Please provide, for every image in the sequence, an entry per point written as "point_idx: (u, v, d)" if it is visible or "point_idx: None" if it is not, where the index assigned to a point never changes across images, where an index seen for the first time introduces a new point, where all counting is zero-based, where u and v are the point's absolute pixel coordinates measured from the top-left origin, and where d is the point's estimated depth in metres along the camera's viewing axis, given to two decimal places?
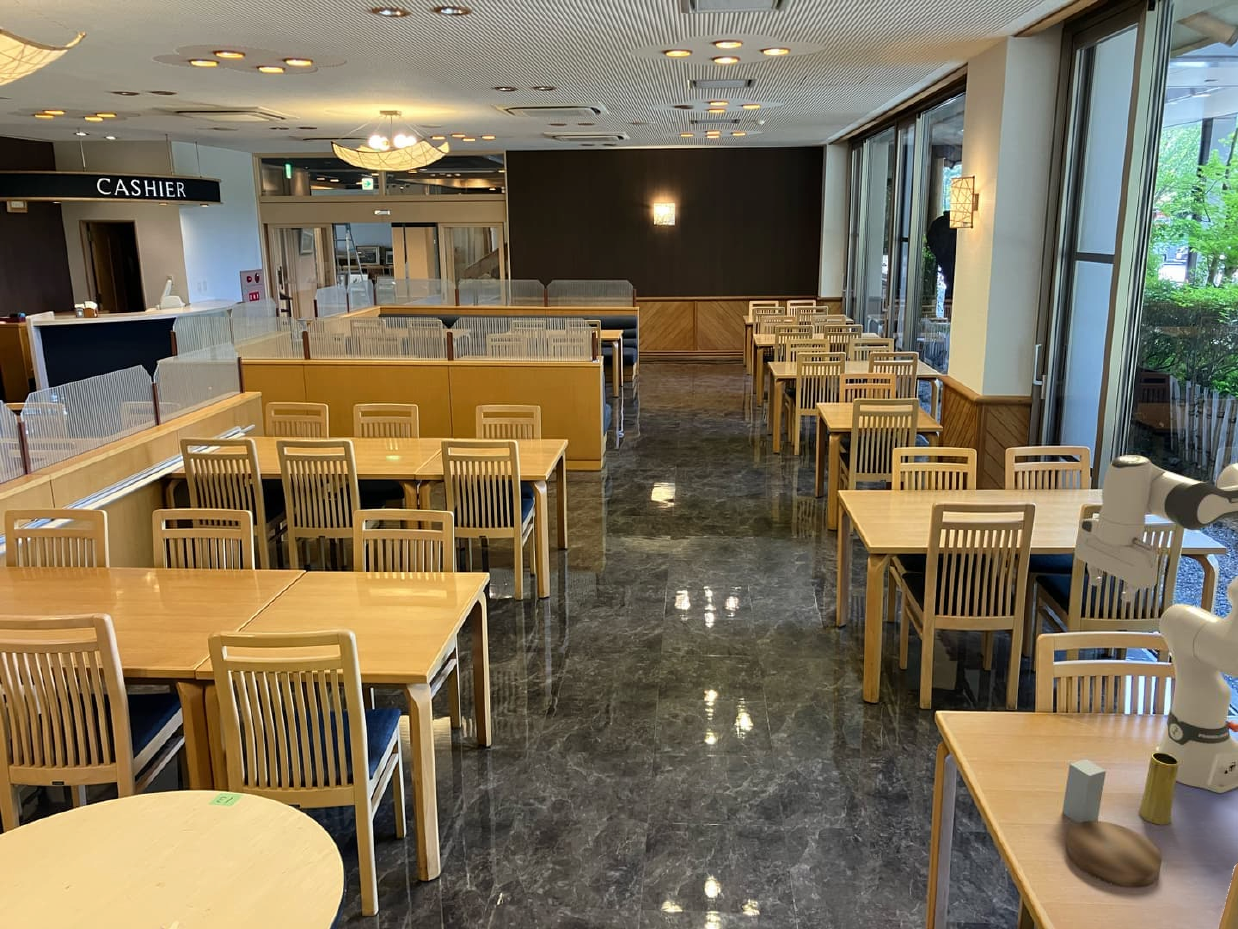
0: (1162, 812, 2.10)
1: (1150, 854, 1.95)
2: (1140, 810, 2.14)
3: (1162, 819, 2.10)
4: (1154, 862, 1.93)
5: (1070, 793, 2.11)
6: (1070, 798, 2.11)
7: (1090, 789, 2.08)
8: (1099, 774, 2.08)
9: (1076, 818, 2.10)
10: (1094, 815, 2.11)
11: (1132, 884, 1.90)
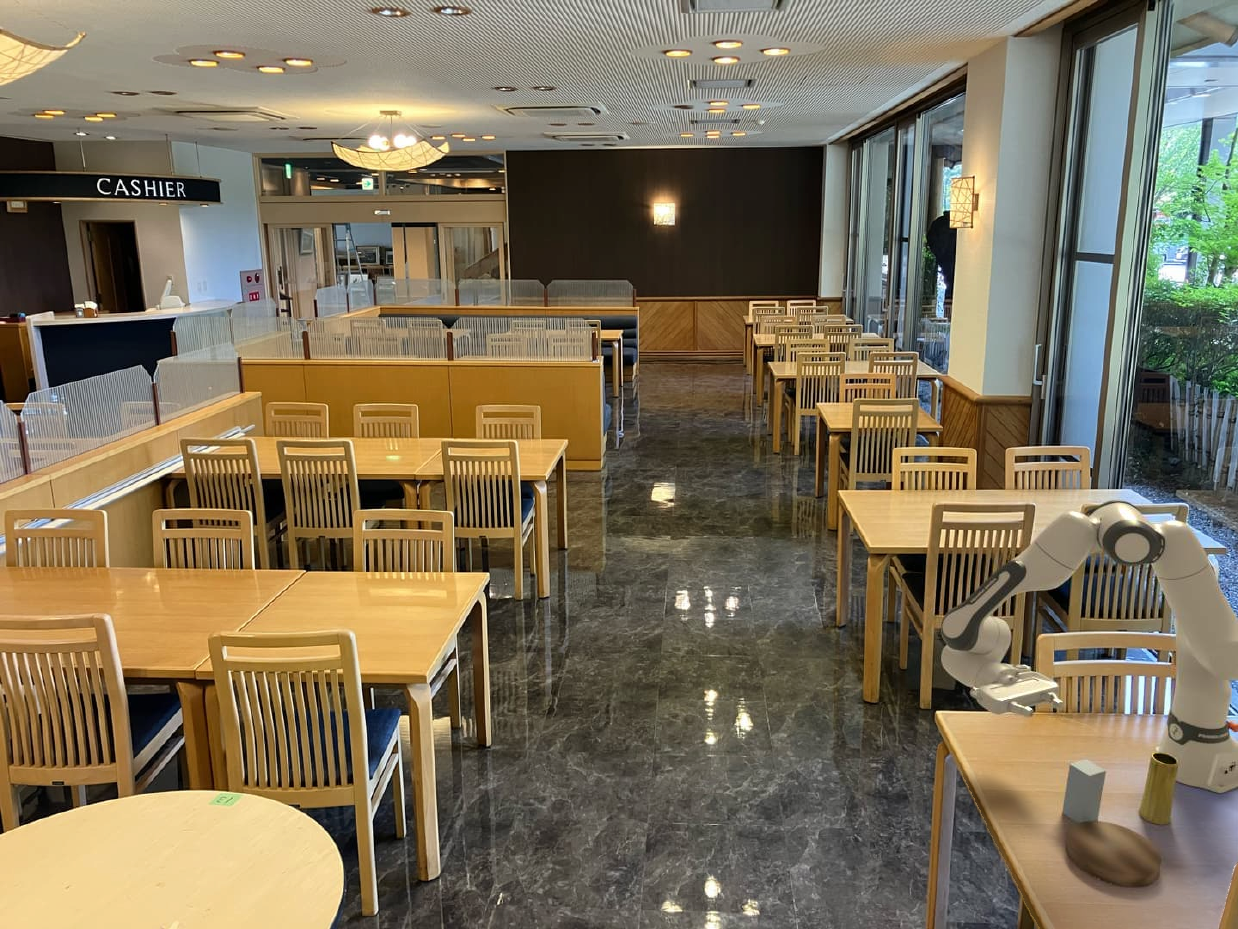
0: (1162, 812, 2.10)
1: (1150, 854, 1.95)
2: (1140, 810, 2.14)
3: (1162, 819, 2.10)
4: (1154, 862, 1.93)
5: (1070, 793, 2.11)
6: (1070, 798, 2.11)
7: (1090, 789, 2.08)
8: (1099, 774, 2.08)
9: (1076, 818, 2.10)
10: (1094, 815, 2.11)
11: (1132, 884, 1.90)
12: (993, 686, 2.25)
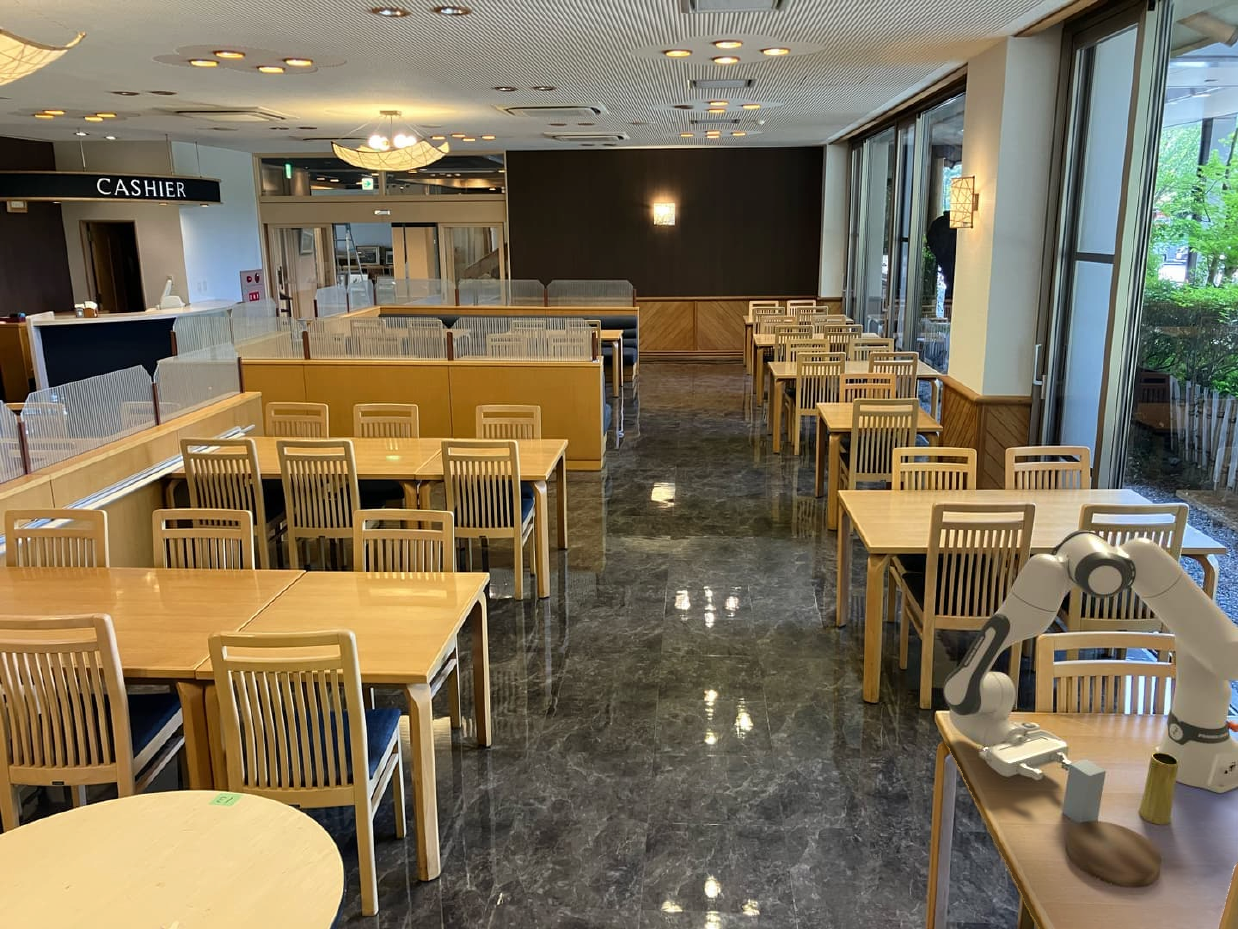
0: (1162, 812, 2.10)
1: (1150, 854, 1.95)
2: (1140, 810, 2.14)
3: (1162, 819, 2.10)
4: (1154, 862, 1.93)
5: (1070, 793, 2.11)
6: (1070, 798, 2.11)
7: (1090, 789, 2.08)
8: (1099, 774, 2.08)
9: (1076, 818, 2.10)
10: (1094, 815, 2.11)
11: (1132, 884, 1.90)
12: (1002, 746, 2.24)
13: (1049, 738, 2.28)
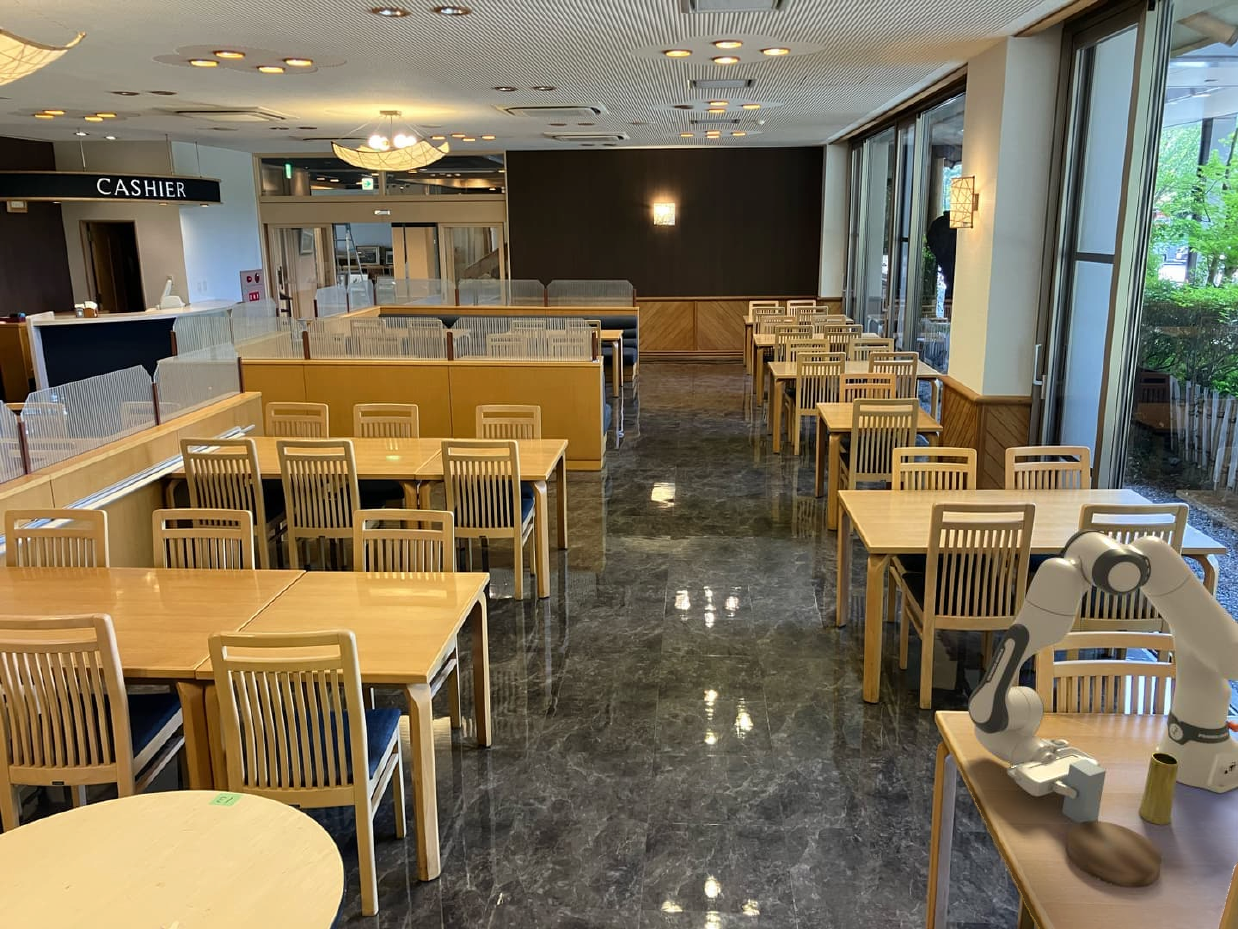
0: (1162, 812, 2.10)
1: (1150, 854, 1.95)
2: (1140, 810, 2.14)
3: (1162, 819, 2.10)
4: (1154, 862, 1.93)
5: None
6: (1070, 798, 2.11)
7: (1090, 788, 2.08)
8: (1099, 774, 2.08)
9: (1076, 818, 2.10)
10: (1094, 815, 2.11)
11: (1132, 884, 1.90)
12: (1031, 765, 2.17)
13: (1079, 756, 2.21)
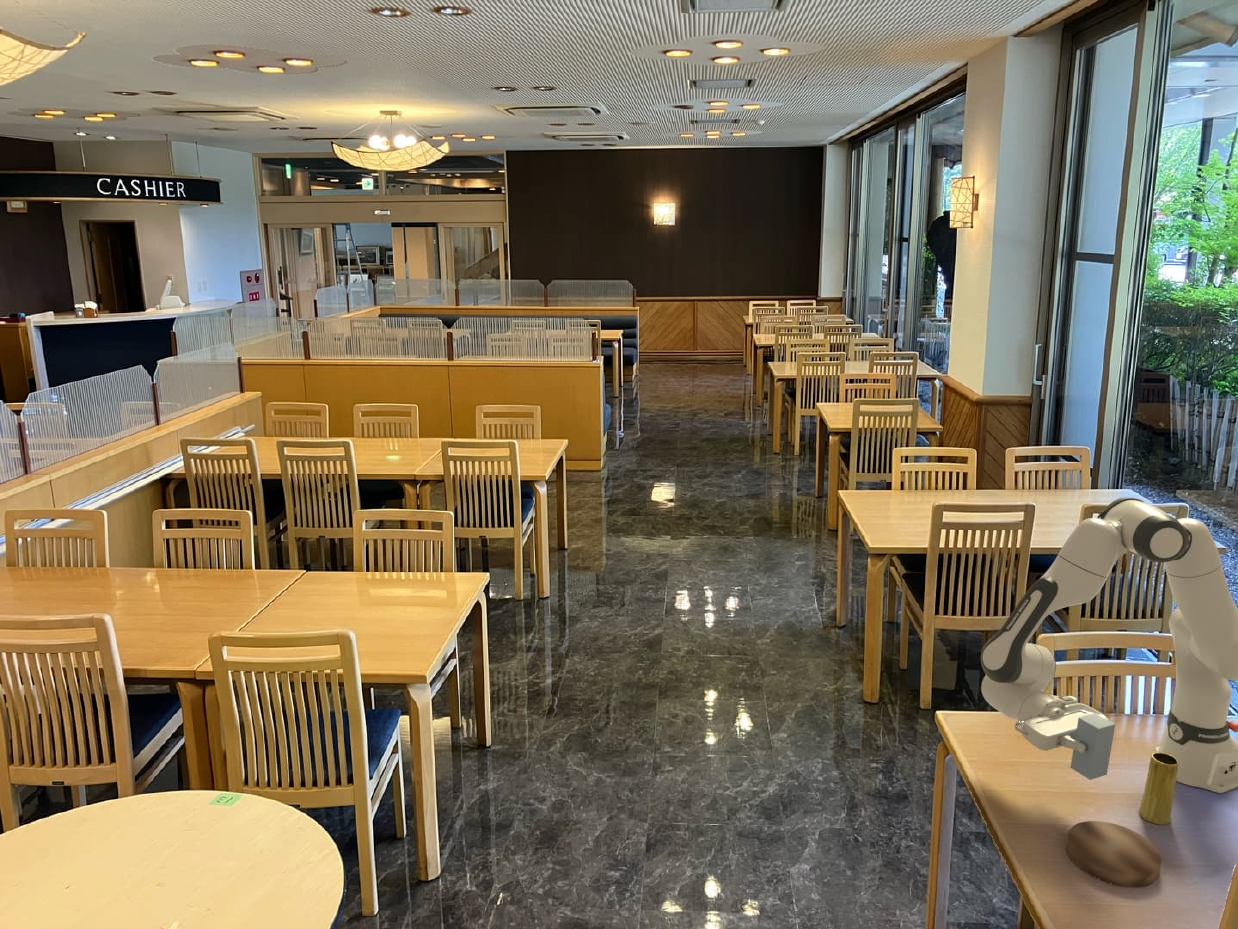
0: (1162, 812, 2.10)
1: (1150, 854, 1.95)
2: (1140, 810, 2.14)
3: (1162, 819, 2.10)
4: (1154, 862, 1.93)
5: None
6: (1078, 753, 2.08)
7: (1099, 742, 2.04)
8: (1108, 727, 2.04)
9: (1085, 772, 2.07)
10: (1103, 770, 2.07)
11: (1132, 884, 1.90)
12: (1039, 720, 2.13)
13: (1088, 711, 2.17)
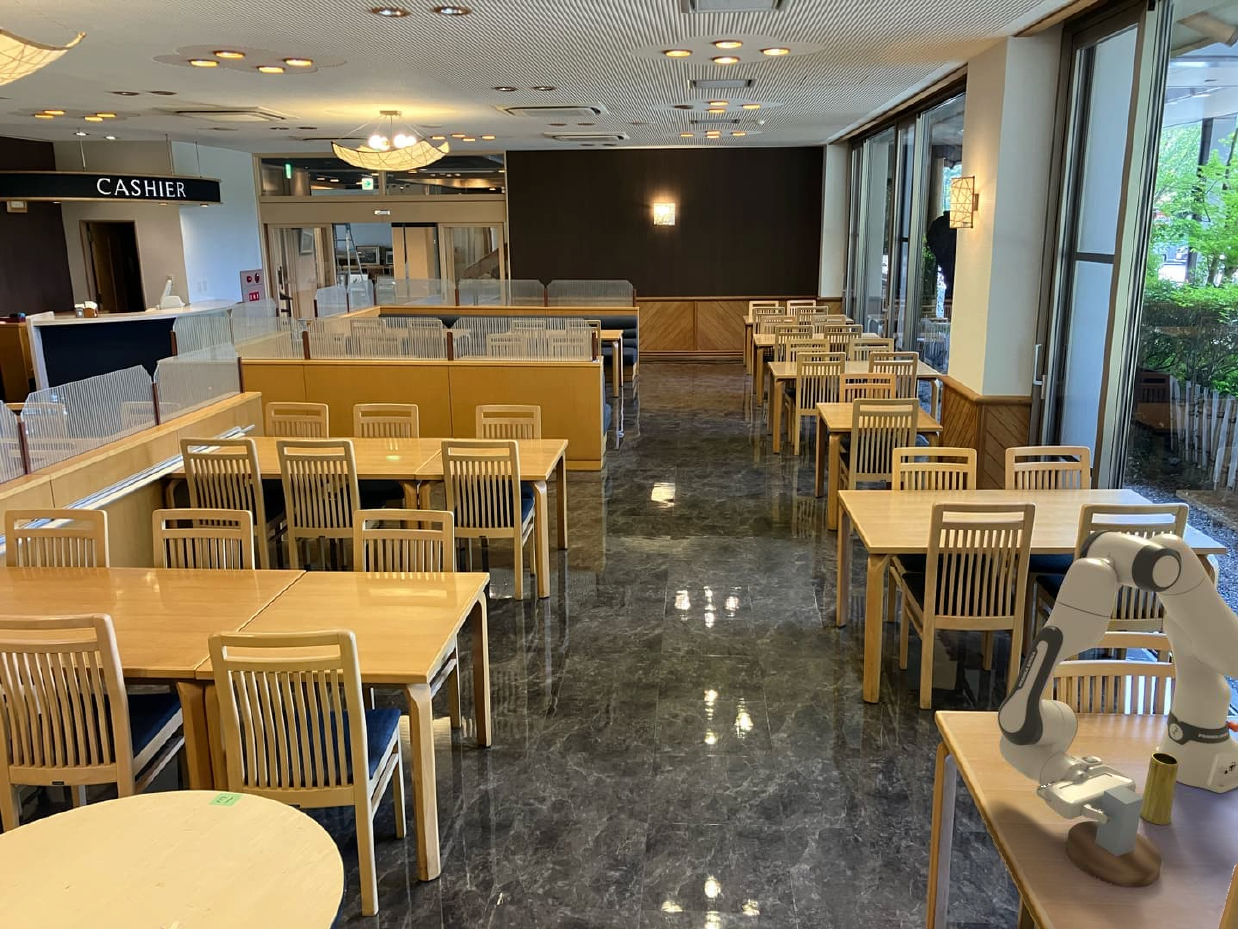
0: (1162, 812, 2.10)
1: (1150, 854, 1.95)
2: None
3: (1162, 819, 2.10)
4: (1154, 862, 1.93)
5: None
6: (1104, 827, 1.97)
7: (1126, 818, 1.93)
8: (1136, 802, 1.93)
9: (1110, 849, 1.96)
10: (1130, 845, 1.96)
11: (1132, 884, 1.90)
12: (1062, 784, 2.01)
13: (1113, 774, 2.05)
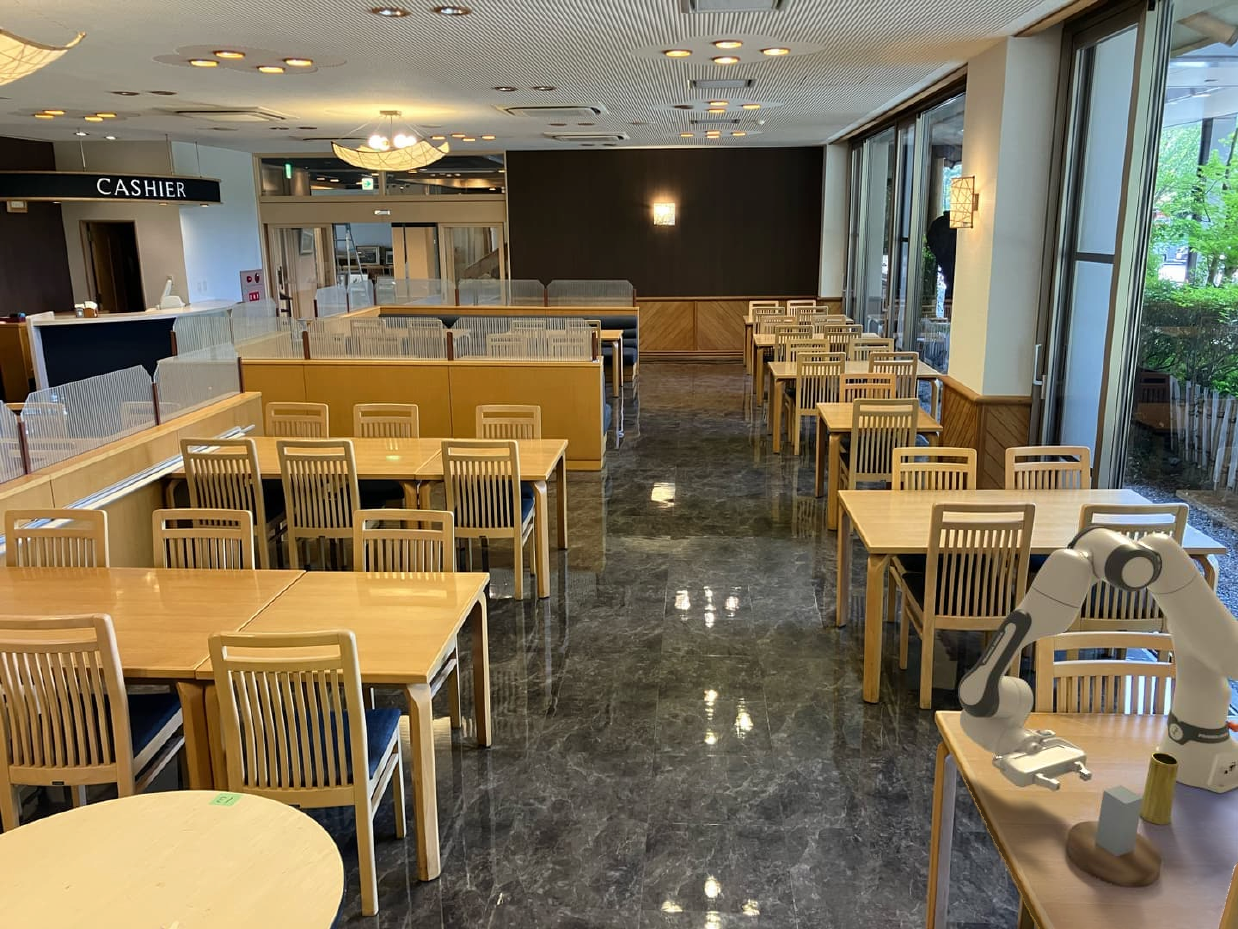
0: (1162, 812, 2.10)
1: (1150, 854, 1.95)
2: None
3: (1162, 819, 2.10)
4: (1154, 862, 1.93)
5: (1104, 821, 1.96)
6: (1103, 827, 1.97)
7: (1126, 817, 1.93)
8: (1136, 802, 1.93)
9: (1110, 849, 1.96)
10: (1130, 845, 1.96)
11: (1132, 884, 1.90)
12: (1016, 755, 2.12)
13: (1066, 746, 2.16)
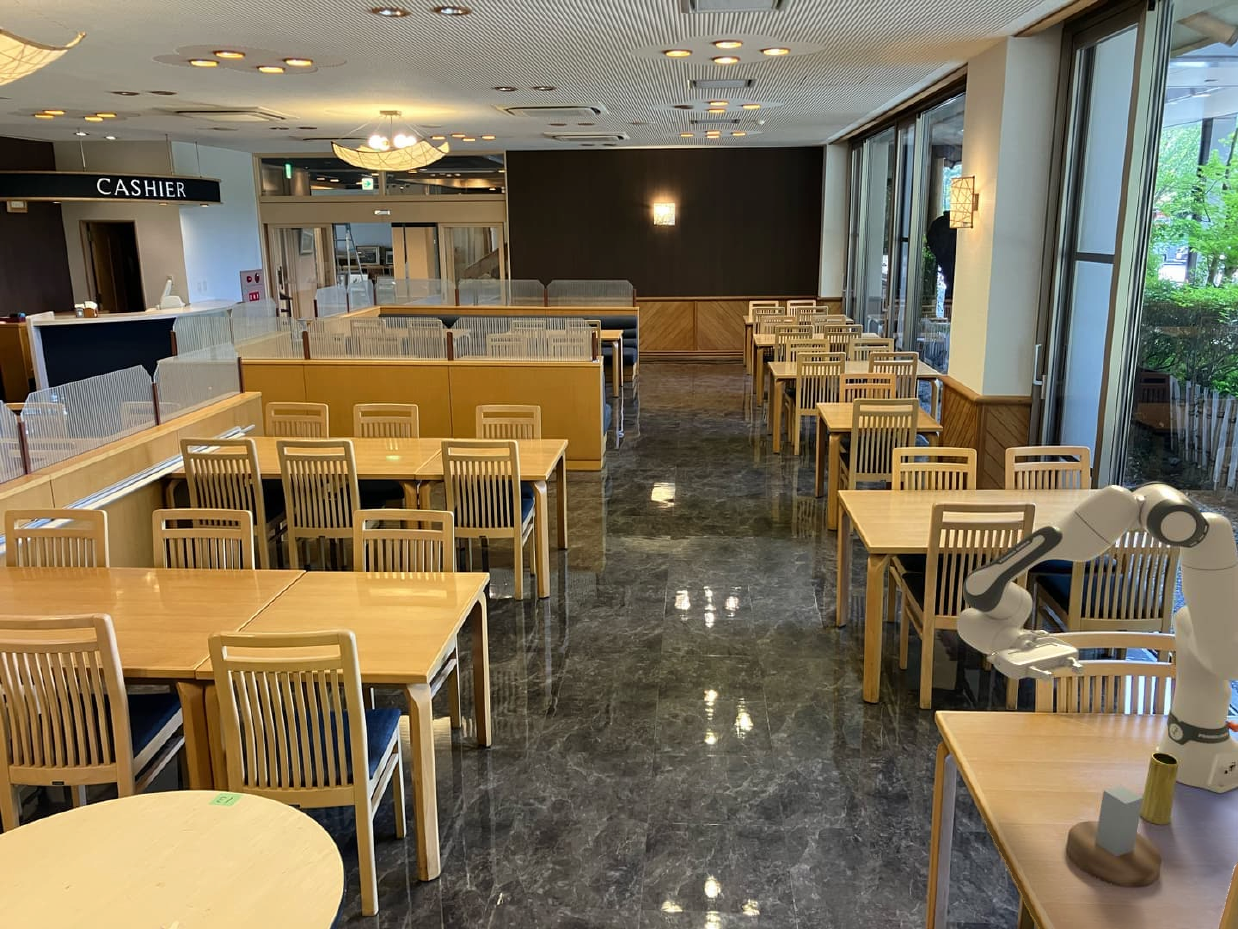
0: (1162, 812, 2.10)
1: (1150, 854, 1.95)
2: None
3: (1162, 819, 2.10)
4: (1154, 862, 1.93)
5: (1104, 821, 1.96)
6: (1103, 827, 1.97)
7: (1126, 817, 1.93)
8: (1136, 802, 1.93)
9: (1110, 849, 1.96)
10: (1130, 845, 1.96)
11: (1132, 884, 1.90)
12: (1011, 651, 2.19)
13: (1059, 644, 2.22)
